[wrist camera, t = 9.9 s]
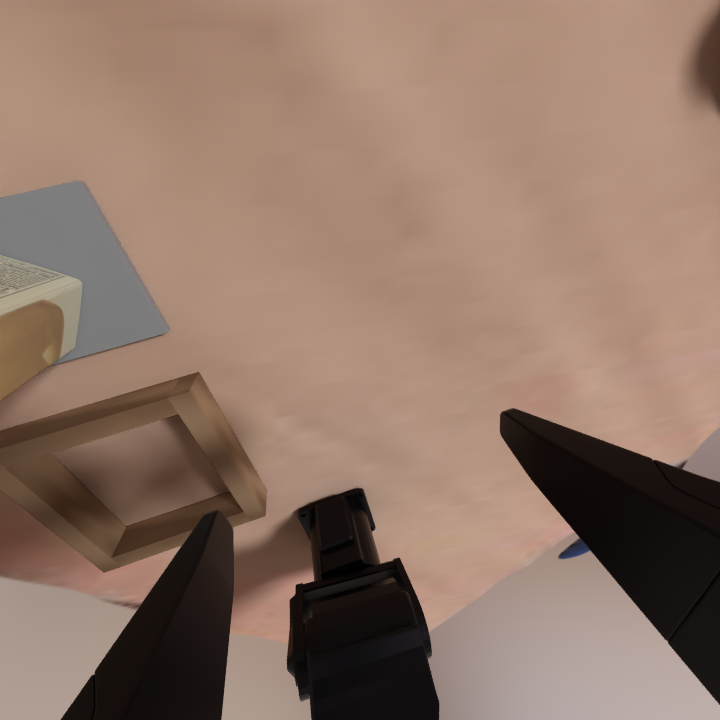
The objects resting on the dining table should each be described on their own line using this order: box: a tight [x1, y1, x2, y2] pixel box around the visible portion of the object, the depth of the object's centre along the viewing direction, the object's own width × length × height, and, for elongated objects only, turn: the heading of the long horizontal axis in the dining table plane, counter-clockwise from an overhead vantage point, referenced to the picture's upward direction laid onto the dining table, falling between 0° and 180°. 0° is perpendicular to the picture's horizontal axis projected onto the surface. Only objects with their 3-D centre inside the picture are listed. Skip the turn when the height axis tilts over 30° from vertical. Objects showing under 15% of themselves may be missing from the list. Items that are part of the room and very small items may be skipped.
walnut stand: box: [0, 372, 267, 573], centre depth 21 cm, size 12×12×2 cm
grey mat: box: [0, 181, 170, 366], centre depth 16 cm, size 8×12×1 cm, turn 103°
